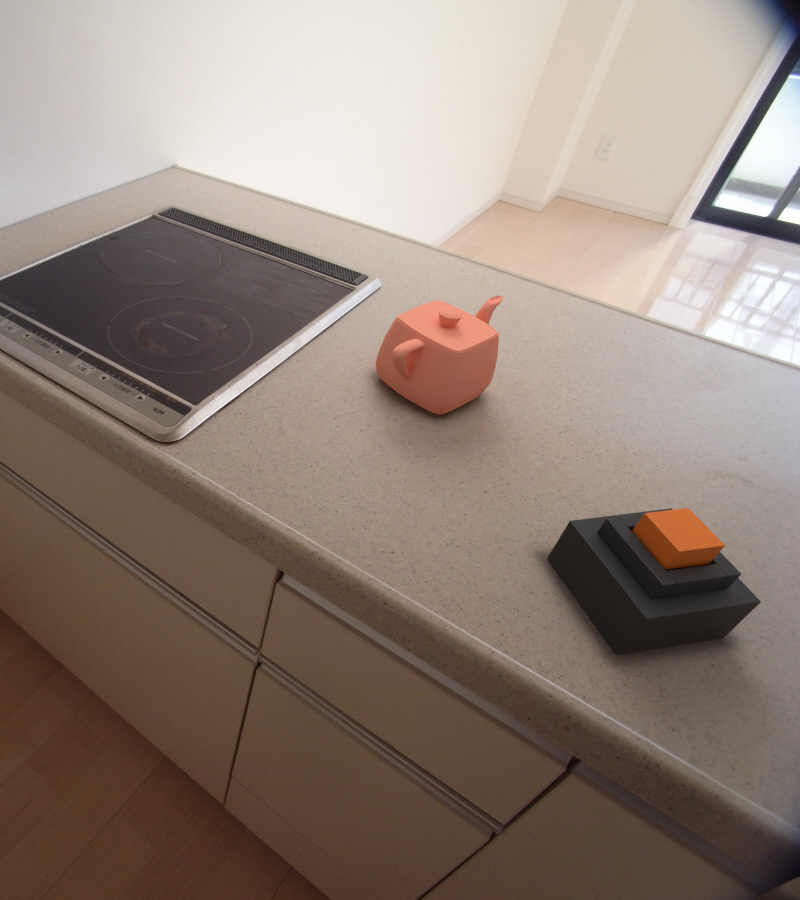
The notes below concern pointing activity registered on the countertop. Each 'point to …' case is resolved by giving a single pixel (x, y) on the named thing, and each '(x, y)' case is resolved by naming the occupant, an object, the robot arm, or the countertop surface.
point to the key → (677, 538)
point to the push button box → (646, 588)
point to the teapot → (440, 355)
